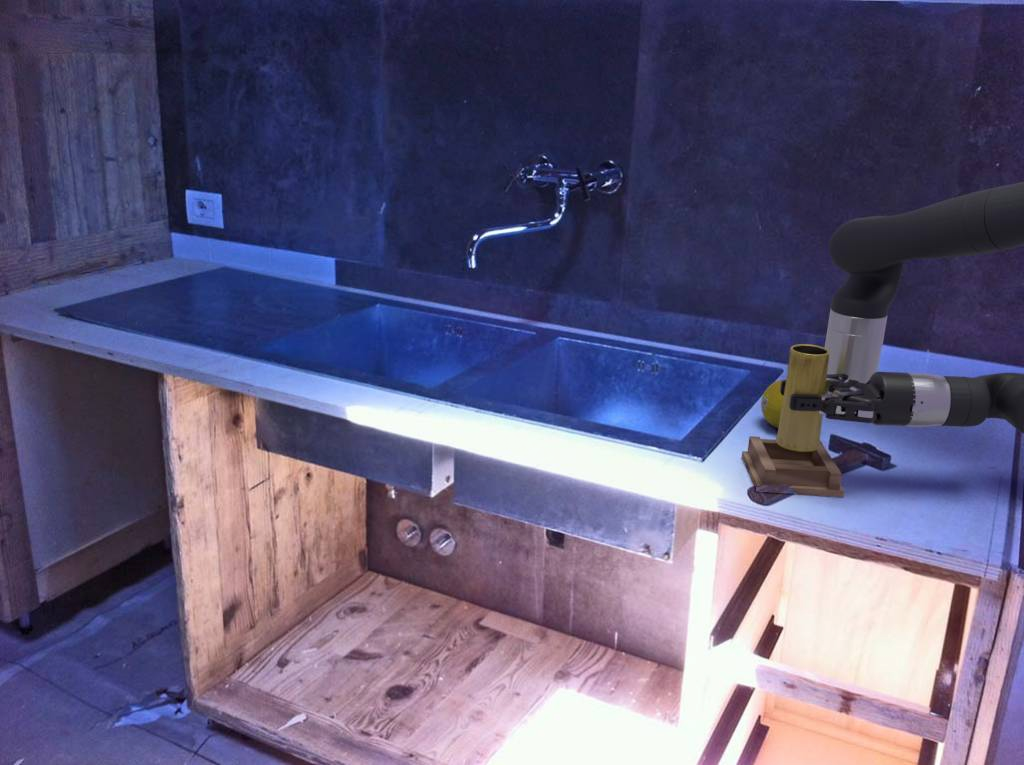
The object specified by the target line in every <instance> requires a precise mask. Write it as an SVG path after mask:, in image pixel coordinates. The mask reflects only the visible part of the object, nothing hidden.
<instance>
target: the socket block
mask: <svg viewBox="0 0 1024 765" xmlns="http://www.w3.org/2000/svg"><path fill="white" fill-rule="evenodd" d="M741 459H742V461H743V464H744V466H745V468H746V470H747V473H748V475H749V477H750V481H751V482H752V486H753V487H754V486H760V485H774V484H786V485H787V484H788V485H792V486H790V487H789V488H791V489H793V490H794V491H795V493H796V494H798V496H814V497H815V496H816V497H829V498H830V497H832V498H833V497H834V498H835V497H836V498H844V496H845V489H844V487H843V485H842V484H841V482H842V476H843V473H842V471H841V470H840V468H839V467H838V466H837V465H836V462H835V461H834V459H833V458H832V457H831V455H830V453H829V451H828V450H827V449H826V447H825V445H824V444H823V442H822V441H821V440H820V448H819V449H817V450H816V451H812V452H795V451H791V450H787V449H784V448H782V447H781V446H779V445H778V444H777V442H776V438H774V439H771V438H761V437H760V436H751V435H749V436H748V445H747V451H745V450H743V451H742V452H741Z"/></svg>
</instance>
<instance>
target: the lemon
mask: <svg viewBox="0 0 1024 765" xmlns="http://www.w3.org/2000/svg"><path fill="white" fill-rule="evenodd" d="M782 380H783V379H781V380H780V379H779V380H777V381H774V382H772V383H771V384H769V385H768V386H767V388H766V389H765V391H763V394H762V397H761V402H760V407H761V412H762V414H763V415H762V416H763V417H764V419H765V420H766V422H767V423H769V425H771V426H772V427H774V428H776V429H778V428H779V422H780V416H781V410H782V405H783V397H784V396H783V395H781V393H780V385H781V381H782Z"/></svg>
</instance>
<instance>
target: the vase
mask: <svg viewBox="0 0 1024 765" xmlns="http://www.w3.org/2000/svg"><path fill="white" fill-rule="evenodd" d="M789 350H790V351H789V357H788V366H787V373H786V379H785V380H786V385H785V391H784V397H783V405H782V410H781V416H780V422H779V428H777V429H778V430H777V434H776V438H775V440H776V442H777V444H778V445H779V446H781V447H782V448H784V449H787V450H791V451H795V452H812V451H816V450H817V449H819V448H820V441H821V435H822V434H821V433H822V424H823V414H819V413H818V410H817V411H794V410H791V409H790V407H789V401H790V396H791V395H792V394H812V395H818V396H819V398H820V395H824V394H825V385H826V378H827V370H828V362H829V353H830V352H829V350H828V349H826V348H825V346H824V347H823V346H820V345H815V344H809V343H807V344H806V343H800V344H794V345H792V346H791V347H790V349H789Z"/></svg>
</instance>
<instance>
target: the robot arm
mask: <svg viewBox="0 0 1024 765" xmlns="http://www.w3.org/2000/svg"><path fill="white" fill-rule="evenodd" d="M1023 246H1024V181H1021V182H1017V183H1016V182H1015V183H1011V184H1005V185H1001V186H996V187H992V188H986V189H983V190H978V191H973V192H970V193H966V194H964V195H959V196H956V197H953V198H952V197H951V198H949V199H945V200H943V201H942V200H941V201H939V202H938V201H937V202H936V203H932V204H930V205H927V206H923V207H921V208H917V209H915V210H912V211H908V212H905V213H900V214H895V215H875V216H867V217H866V216H865V217H857V218H854V219H853V218H852V219H850V220H848V221H845V222H844V223H842V224H841V225H840V226H839V227H838V228H837V229H836V230H835V231H834V232H833V234H832V236H831V238H830V240H829V244H828V254H829V257H830V259H831V260H832V263H834V265H835V266H836V267H837V268H838V269H840V270H841V271H843V272H845V273H848V274H849V275H848V277H847V279H846V280H845V282H844V283H843V284H842V286H840V287H839V288H838V289H836V290H835V292H834V293H833V295H832V297H831V298H832V299H831V303H830V311H829V317H828V322H827V323H828V324H827V330H826V336H825V342H824V343H825V344H824V348H826V349H828V350H829V352H830V353H829V362H828V370H827V378H826V385H825V394H824V395H820V398H819V396H818V395H812V394H792V395H791V396H790V401H789V407H790V409H791V410H794V411H817V410H818V413H819V414H822V415H825V418H826V419H828V420H837V421H845V422H852V423H853V422H855V423H864V424H865V423H866V424H873V425H874V426H875V425H876V426H890V427H891V426H894V427H914V428H915V427H917V428H926V427H927V428H928V427H936V426H937V427H939V426H940V427H963V428H969V427H970V428H971V427H976V426H979V425H981V424H983V423H984V422H985V421H986V420H987V419H1000V420H1003V421H1006V422H1008V423H1009V424H1010V425H1011V426H1012V427H1013V428H1014V429H1016V430H1017V431H1018V432H1020V433H1021V434H1023V435H1024V373H1019V372H998V373H991V374H984V375H978V376H974V377H971V376H956V375H955V376H953V375H938V374H937V375H936V374H933V373H923V372H922V373H921V372H898V371H879V367H880V363H881V362H880V361H881V357H882V356H881V355H882V349H883V345H884V338H885V332H886V326H887V321H888V314H889V310H890V307H891V305H892V303H893V302H894V300H895V298H896V296H897V294H898V289H899V286H900V282H901V277H902V273H903V267H904V264H905V262H907V261H913V260H921V259H922V260H923V259H924V260H925V259H945V258H947V259H948V258H958V257H959V258H960V257H968V256H969V257H971V256H978V255H983V254H984V255H986V254H990V253H997V252H1001V251H1009V250H1012V249H1017V248H1020V247H1021V248H1022V247H1023ZM781 380H782V381H781V385H780V393H781V395H783V396H784V391H785V385H786V379H781Z"/></svg>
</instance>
